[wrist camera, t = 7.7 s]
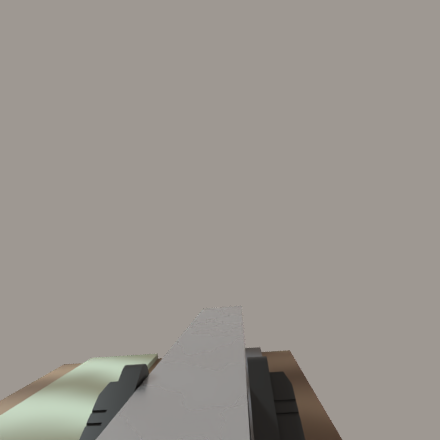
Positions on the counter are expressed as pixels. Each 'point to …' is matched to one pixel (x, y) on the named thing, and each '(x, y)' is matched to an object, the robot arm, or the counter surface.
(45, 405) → the stand
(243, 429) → the bar
